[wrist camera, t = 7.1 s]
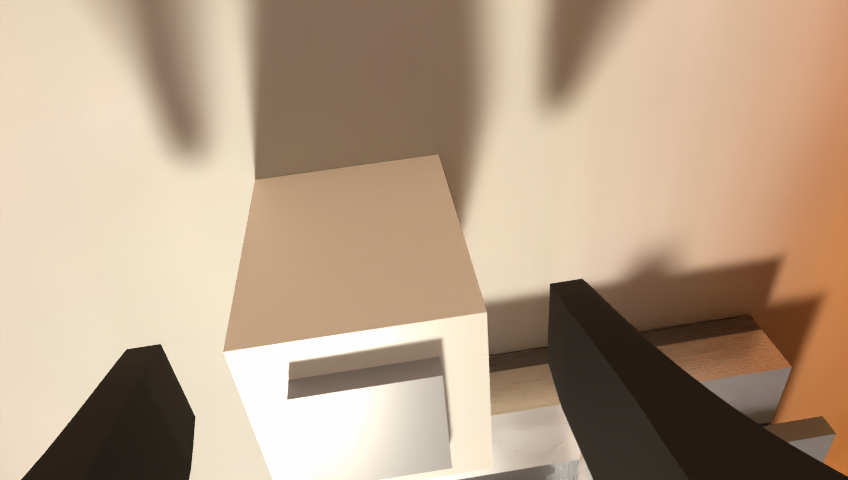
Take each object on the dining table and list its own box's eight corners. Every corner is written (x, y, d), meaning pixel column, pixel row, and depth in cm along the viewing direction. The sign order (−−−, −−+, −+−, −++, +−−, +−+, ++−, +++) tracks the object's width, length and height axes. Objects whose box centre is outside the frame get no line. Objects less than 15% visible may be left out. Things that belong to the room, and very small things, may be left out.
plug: (438, 153, 14) (492, 330, 9) (449, 291, 16) (497, 486, 12) (255, 179, 14) (219, 371, 9) (293, 315, 16) (280, 523, 11)
